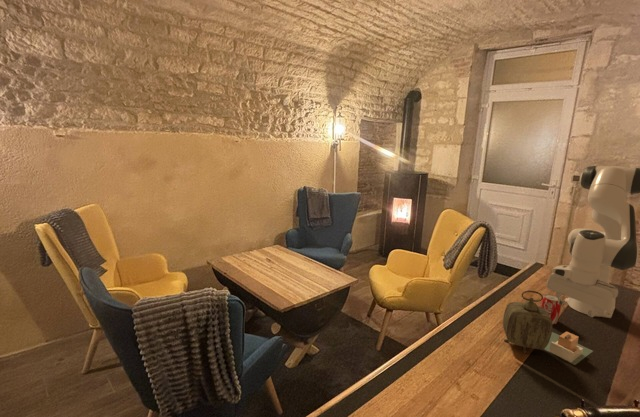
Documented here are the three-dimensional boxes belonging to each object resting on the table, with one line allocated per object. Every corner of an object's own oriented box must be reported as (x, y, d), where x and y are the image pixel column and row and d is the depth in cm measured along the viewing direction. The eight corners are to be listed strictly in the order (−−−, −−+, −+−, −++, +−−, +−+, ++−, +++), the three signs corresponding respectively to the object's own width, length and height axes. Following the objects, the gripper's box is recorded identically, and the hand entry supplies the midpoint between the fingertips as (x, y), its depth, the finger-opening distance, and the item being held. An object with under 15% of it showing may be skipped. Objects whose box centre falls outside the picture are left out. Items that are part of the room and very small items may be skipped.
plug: (563, 347, 129) (566, 330, 127) (575, 353, 125) (579, 335, 124) (555, 352, 125) (559, 334, 124) (567, 358, 122) (571, 340, 120)
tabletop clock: (540, 348, 129) (552, 289, 124) (547, 362, 121) (560, 300, 116) (499, 339, 134) (509, 283, 128) (503, 353, 126) (514, 293, 120)
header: (560, 343, 131) (562, 335, 130) (581, 354, 125) (584, 344, 124) (549, 351, 126) (551, 342, 125) (570, 362, 120) (573, 352, 119)
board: (537, 327, 144) (537, 325, 143) (592, 353, 127) (593, 350, 127) (517, 338, 135) (518, 336, 135) (574, 367, 119) (574, 365, 119)
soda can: (560, 327, 144) (565, 302, 142) (542, 324, 146) (547, 300, 143) (552, 318, 151) (557, 294, 148) (535, 316, 152) (540, 292, 150)
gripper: (623, 284, 111) (614, 321, 115) (555, 264, 128) (549, 296, 131) (616, 289, 108) (606, 326, 111) (547, 267, 125) (541, 300, 128)
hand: (575, 310), depth 122 cm, fingers open, 8 cm apart
